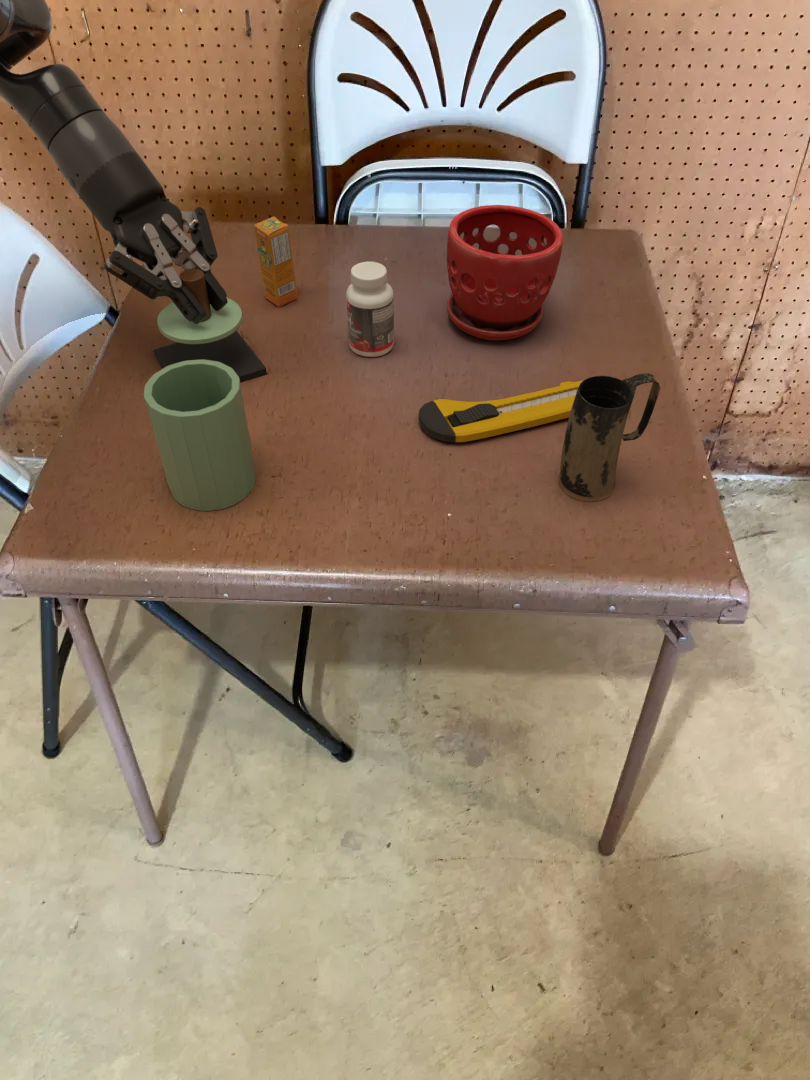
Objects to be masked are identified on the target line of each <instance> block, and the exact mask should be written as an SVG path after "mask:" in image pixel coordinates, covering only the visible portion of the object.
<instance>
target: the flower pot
mask: <svg viewBox="0 0 810 1080" xmlns="http://www.w3.org/2000/svg"><path fill="white" fill-rule="evenodd" d="M489 226H496V227H497V228H498V229H499V231H500V232H499V236H498V237H497V238H495V239H493V240H487V239H486V238H485V236H484V233H485V230H486V229H487V227H489ZM475 229H477V230H478V231H477V233H476V234H473V232H474V230H475ZM511 233H515V234H516V238H511V237H510V236H511V235H510V234H511ZM462 234H463V237H462V238H461V236H462ZM530 239H533V240H534V241H535V242H536V245H535V247H532V246H531V244H530V243H529V242H530V241H529V240H530ZM545 240H546V241H545ZM446 241H447V242H446V269H447V275H448V276H447V279H448V284H449V288H450V291H451V295H450V296H449V297H448V300H447V303H446V310H447V313H448V317H449V318H450V320H451V321H452V322H453V324H454V325H455V326H456V327H457V328H458V329H460V330H461V331H463V332H464V333H466V334H468V335H470V336H473V337H475V338H479V339H482V340H486V341H487V340H488V341H507V340H508V341H509V340H513V339H517V338H520V337H523V336H525V335H527V334H528V333H530V332H531V331H534V329H536V327H537V326H538V325H539V324H540V322H541V320H542V318H543V313H544V312H543V310H544V309H543V304H544V302H545V301H546V299H547V298H548V296H549V293H550V291H551V289H552V286H553V285H554V281H555V279H556V276H557V272H558V268H559V266H560V261H561V257H562V251H563V244H564V234H563V231H562V229H561V227H560V226H559V225H558V224H557V223H556V222H555V221H554V220H552V219H551V218H550V217H548V216H546V215H544V214H543V213H541V212H539V211H535V210H532V209H528V208H525V207H521V206H515V205H507V204H506V205H505V204H486V205H479V206H474V207H471V208H468V209H466V210H463V211H462V212H459V213H458V214H456V215H455V216H454V217H453V218H452V220H451V221H450V223H449V227H448V232H447V240H446ZM545 242H546V243H545ZM475 244H478V248H477V247H475V246H474V245H475ZM500 245H505V246H507V252H505V253H501V252H500V251H499V246H500ZM517 251H521V254H520V255H519V254H518V255H516V252H517Z"/></svg>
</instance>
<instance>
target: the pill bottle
mask: <svg viewBox="0 0 810 1080" xmlns="http://www.w3.org/2000/svg"><path fill="white" fill-rule="evenodd" d="M350 282H351V283H350V284H349V286H348V287H347V289H346V292H345V297H346V298H345V301H346V317H347V336H348V337H347V338H348V346H349V348H350V350H351V351H352V352H353V353H355V354H356V355H358V356H361V357H367V358H368V357H369V358H375V357H380V356H383V355H385V354H388V353H389V352H390V351H392V349H393V347H394V344H395V297H394V296H395V295H394V290H393V287H392V285H390V284H389V283H388V272H387V268H386V267H385V265H383V263H380V262H376V261H361V262H358V263H356V264H355V265H353V266H352V267H351V269H350Z"/></svg>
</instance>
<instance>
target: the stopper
mask: <svg viewBox="0 0 810 1080" xmlns="http://www.w3.org/2000/svg"><path fill="white" fill-rule="evenodd" d="M178 276H179V278H180V279H181V281H182V287H183V286H185V285H186V286H187V287H188V289H189V290H190V291H191V293H192V294H193V295H194V297H195V298H196V299H197V301H198V302H199V303H200V305H201V306H202V307H203V309H204V310H205V311H206V314H207V316H206V317H205V318H204V319H203V320H202V321H201V322H200V323H198V324H194V323H193V322H192V321H188V320H187V319H186V318H185V317H184V316H183V314H182V313H181V312H180V310H179V309H178V308H177V306H176V305H175V304H174V302H173V301H172V302H170V303H169V304H167V305H166V306H165V307H163V308H162V310H161V311H160V312H159V314H158V316H157V320H156V321H157V322H156V323H157V327H158V330H159V332H160V333H161V335H163V336H164V337H165V338H166V339H168V340H170V341H171V342H174V343H184V344H204V343H210V342H214V341H218V340H221V339H223V338H225V337H227V336H229V335H231V334H232V333H234V332H235V331H237V330H238V329H239V328H240V327H241V325H242V322H243V311H242V308H241V306H240V305H239V304H238V303H237V302H236V301H234V300H233V299H231V298H230V297H229V298H228V297H226V298H227V301H228V303H227V304H226V305H225V306H224V307H223V308H222V309H220V310H219V311H215V310H214V309H213V307H212V306H211V305H210V303H209V297H208V292H207V287H206V281H205V276H204V272H203V271H202V270H199V269H188V270H183V271H181V272H180V273H179V274H178Z"/></svg>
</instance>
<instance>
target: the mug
mask: <svg viewBox="0 0 810 1080" xmlns="http://www.w3.org/2000/svg"><path fill="white" fill-rule="evenodd" d="M583 380H584V381H582V380H581V381H582V382H581V383H580V385H579V387H578V390H577V393H576V396H575V399H574V402H573V405H572V408H571V412H570V416H569V417H568V421H567V425H566V428H565V432H564V438H563V444H562V450H561V455H560V464H559V465H560V466H559V468H560V469H559V476H558V484H559V487H560V489H561V491H562V492H563V493H565V494H566V495H568V496H569V497H571V498H572V499H575V500H578V501H581V502H588V503H589V502H590V503H593V502H600V501H603V500H605V499H607V498H609V497H610V496H611V495H612V494H613V493H614V490H615V487H616V477H617V467H618V462H619V461H618V460H619V457H620V456H619V455H620V449H621V444H622V441H623V442H627V441H628V442H629V441H635V440H637V439H639V438H640V437H642V436H643V434H644V432H645V430H646V429H647V427H648V426H649V423H650V420H651V417H652V416H653V412H654V410H655V406H656V404H657V401H658V397H659V394H660V391H661V386H660V383H659V382H658V381H657V380H656V379H655V376H654V375H653V374H652V373H650V372H646V373H645V372H644V373H639V374H635V375H633V376H631V377H627V378H624V379H619V378H618V377H615V376H609V375H594V376H589V377H587V378H585V379H583ZM649 383H652V384H651V387H650V390H649V394H648V397H647V400H646V404H645V407H644V410H643V413H642V416H641V418H640V421H639V422H638V424H637V426H636V429H635V430H634V431H632V432H631V433H625V432H624V431H625V428H626V423H627V420H628V416H629V413H630V411H631V407H632V404H633V401H634V398H635V395H636V390H637V387H639V386H641V385H643V384H649Z"/></svg>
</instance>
